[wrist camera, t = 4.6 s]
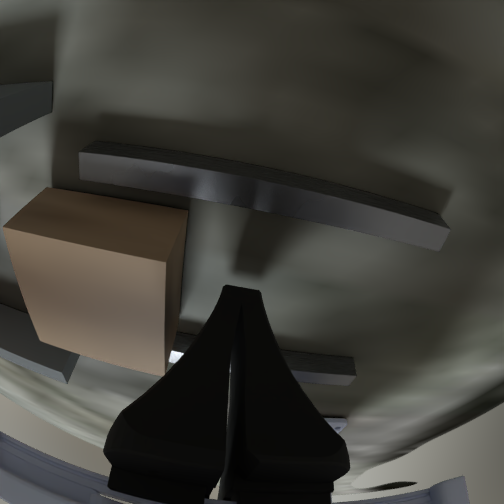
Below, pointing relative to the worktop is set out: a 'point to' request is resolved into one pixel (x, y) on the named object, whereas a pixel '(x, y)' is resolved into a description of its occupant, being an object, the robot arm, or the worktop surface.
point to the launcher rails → (269, 200)
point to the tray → (6, 318)
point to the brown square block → (101, 275)
